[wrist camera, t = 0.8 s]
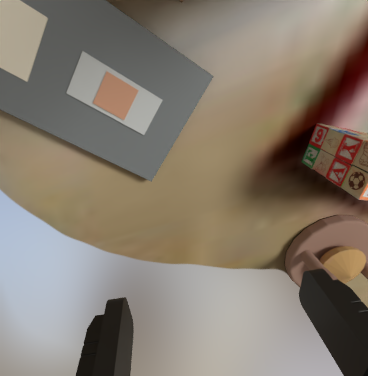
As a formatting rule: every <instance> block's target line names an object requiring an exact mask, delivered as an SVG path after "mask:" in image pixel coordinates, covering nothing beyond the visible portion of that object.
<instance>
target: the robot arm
mask: <svg viewBox="0 0 368 376" xmlns="http://www.w3.org/2000/svg"><path fill="white" fill-rule="evenodd" d="M299 297H300V302H301V305H302V307H303V308H304V310H305V312H306V313H307V315H308V317H309V318H310V320H311V322H312V323H313V325H314V327H315V328H316V330H317V332H318V333H319V335H320V337H321V338H322V340H323V342H324V343H325V345H326V347H327V348H328V350H329V352H330V353H331V355H332V357H333V358H334V360H335V361H336V363H337V365H338V367H339V368H340V370H341V372H342V373H343V375H344V376H368V308H367V307H366V305H365V304H364V303H363V302H361V300H360V298H359V297H358V296H357V295H356V294H355V293H354V292H353V290H352V289H351V288H350V287H348V286H347V285H345V284H344V283H342V282H341V281H340V280H338V279H337V280H333V279H332V278H331V277H330V276H329V274H328V273H327V272H326V271H325V270H324V269H315V270H308V271H305V272H304V273H303V277H302V282H301V286H300V291H299ZM132 345H133V319H132V315H131V312H130V309H129V305H128V302H127V299H126V298H118V299H111V300H108V301H107V304H106V309H105V314H104V315H97V316H95V318H94V319H93V321H92V322H91V324H90V325H89V327H88V329H87V332H86V337H85V340H84V346H83V349H82V353H81V358H80V361H79V365H78V369H77V373H76V376H130V371H131V358H132V357H131V356H132Z"/></svg>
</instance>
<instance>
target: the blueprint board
mask: <svg viewBox="0 0 368 376" xmlns="http://www.w3.org/2000/svg"><path fill="white" fill-rule="evenodd" d="M212 78H213V76H212V75H211V74H209V73H208V72H206V71H205V70H204V69H202V68H201V67H199V66H198V65H197V64H195V63H194V62H192V61H191V60H189V59H188V58H187V57H185V56H184V55H182V54H181V53H180V52H178V51H177V50H175V49H174V48H172V47H171V46H170V45H168V44H167V43H165V42H164V41H163V40H161V39H160V38H158V37H157V36H156V35H154V34H153V33H151V32H150V31H148V30H147V29H146V28H144V27H143V26H141V25H140V24H139V23H137V22H136V21H134V20H133V19H131V18H130V17H129V16H127V15H126V14H124V13H123V12H122V11H120V10H119V9H117V8H116V7H114V6H113V5H112V4H110V3H109V2H107V1H106V0H0V110H2V111H4V112H6V113H9V114H11V115H13V116H15V117H17V118H19V119H21V120H23V121H25V122H27V123H30V124H32V125H34V126H36V127H38V128H40V129H42V130H44V131H46V132H48V133H51V134H53V135H55V136H57V137H59V138H61V139H63V140H65V141H67V142H69V143H72V144H74V145H76V146H78V147H80V148H82V149H84V150H86V151H88V152H90V153H93V154H95V155H97V156H99V157H101V158H103V159H105V160H107V161H109V162H111V163H114V164H116V165H118V166H120V167H122V168H124V169H126V170H128V171H130V172H133V173H135V174H137V175H139V176H141V177H143V178H145V179H147V180H149V181H152V180H153V178H154V176H155V175H156V173H157V171H158V170H159V168H160V166H161V164H162V163H163V161H164V159H165V158H166V156H167V154H168V153H169V151H170V149H171V148H172V146H173V144H174V142H175V141H176V139H177V137H178V136H179V134H180V132H181V131H182V129H183V127H184V125H185V124H186V122H187V120H188V119H189V117H190V115H191V114H192V112H193V110H194V109H195V107H196V105H197V103H198V102H199V100H200V98H201V97H202V95H203V93H204V92H205V90H206V88H207V86H208V85H209V83H210V81H211V80H212Z"/></svg>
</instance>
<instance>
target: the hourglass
mask: <svg viewBox="0 0 368 376" xmlns="http://www.w3.org/2000/svg"><path fill="white" fill-rule="evenodd" d="M285 267H286V270H287V273H288V275H289V277H290V278H291V279H292V281H294V282H295V283H296V284H297V285H298V286H299V287H300V286H301V282H302V277H303V273H304V272H305V271H308V270H315V269H324V270H325V271H326V272H327V273H328V274H329V276H330V277H331V278H332V279H333V280H337V279H338V280H340V281H341V282H342V283H344V284H345V283H347V282H348V281H350V280H352V279H354V278H355V277H356V276H357V275H359V273H360V272H361V273H362V274H363V275H364V276H365V277H366V278H367V279H368V224H367V223H366V222H365V221H363V220H361V219H358V218H356V217H354V216H351V215H336V216H332V217H328V218H325V219H321V220H319V221H317V222H316V223H314V224H312V225H310V226H308V227H307V228H305V229H304V230H303V231H302V232H301V233H300V234H299V235H298V236H297V237H296V238H295V239H294V240H293V242H292V244H291V245H290V247H289V249H288V250H287V253H286V258H285Z"/></svg>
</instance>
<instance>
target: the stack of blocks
mask: <svg viewBox="0 0 368 376" xmlns="http://www.w3.org/2000/svg"><path fill="white" fill-rule="evenodd" d="M302 163H304V164H305V165H307V166H308V167H310V168H311V169H314V170H315V171H317V172H318V173H320V174H321V175H323V176H324V177H326V179H328V180H329V181H331V182H332V183H334V184H335V185H337V186H339V187H341V188H342V189H344V190H345V191H347V192H348V193H349V194H351V195H352V196H354V197H355V198H357V199H358V200H367V201H368V133H364V132H358V131H353V130H349V129H344V128H339V127H334V126H329V125H323V124H316V127H315V129H314V131H313V134H312V136H311V139H310V141H309V145H308V147H307V149H306V152H305V154H304V157H303V159H302Z"/></svg>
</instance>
